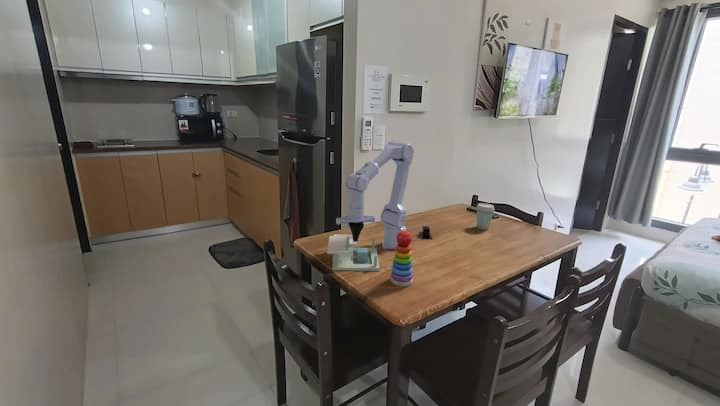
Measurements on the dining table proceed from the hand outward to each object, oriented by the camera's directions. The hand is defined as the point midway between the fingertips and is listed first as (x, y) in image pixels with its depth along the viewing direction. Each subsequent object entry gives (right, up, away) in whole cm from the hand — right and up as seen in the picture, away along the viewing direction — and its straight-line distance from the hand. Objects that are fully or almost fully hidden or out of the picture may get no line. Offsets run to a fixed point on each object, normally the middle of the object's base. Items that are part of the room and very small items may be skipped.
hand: (355, 240), depth 129 cm
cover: (-6, -2, 0) cm, 7 cm away
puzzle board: (0, -8, +2) cm, 8 cm away
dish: (-5, -3, +18) cm, 19 cm away
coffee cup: (+64, +2, +42) cm, 77 cm away
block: (+3, -8, +2) cm, 8 cm away
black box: (+32, -2, +30) cm, 44 cm away
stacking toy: (+16, -13, -13) cm, 24 cm away
